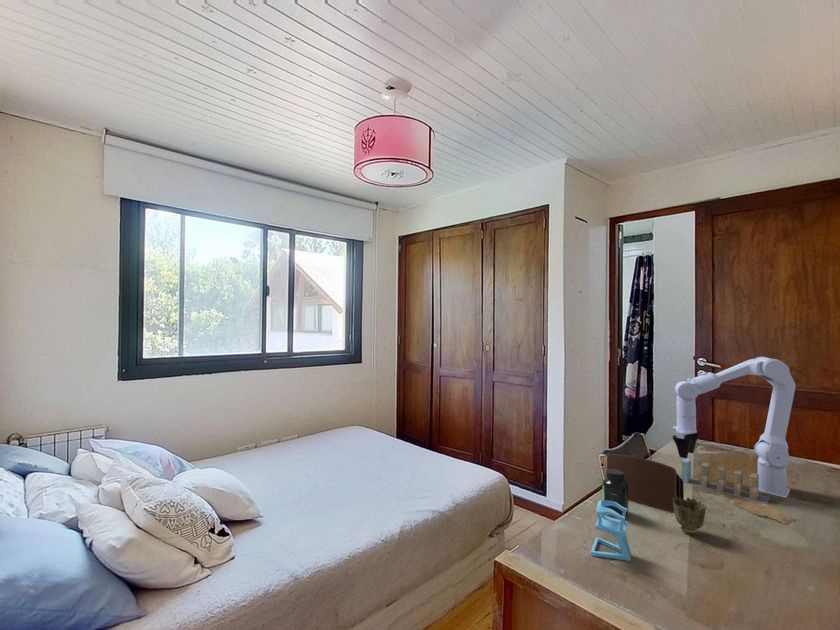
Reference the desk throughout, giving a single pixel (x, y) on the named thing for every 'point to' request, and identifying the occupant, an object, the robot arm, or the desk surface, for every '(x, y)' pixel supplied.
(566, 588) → the desk surface
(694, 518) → the cup
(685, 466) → the tile
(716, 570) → the desk surface
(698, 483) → the felt runner
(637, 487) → the letter holder
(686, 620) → the desk surface
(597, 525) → the light blue stand
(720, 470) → the tile
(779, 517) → the pottery shard
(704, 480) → the tile
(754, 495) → the tile
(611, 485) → the supplement bottle
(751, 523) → the desk surface
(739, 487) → the tile
